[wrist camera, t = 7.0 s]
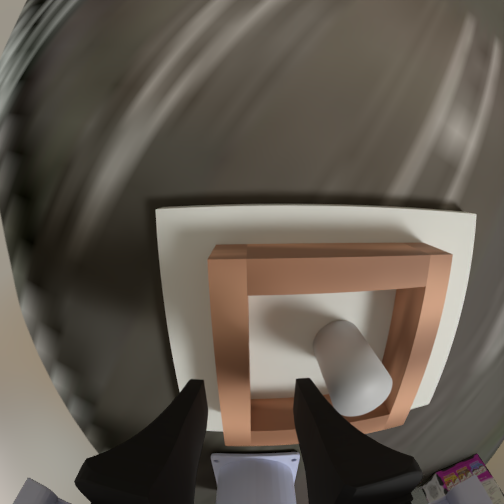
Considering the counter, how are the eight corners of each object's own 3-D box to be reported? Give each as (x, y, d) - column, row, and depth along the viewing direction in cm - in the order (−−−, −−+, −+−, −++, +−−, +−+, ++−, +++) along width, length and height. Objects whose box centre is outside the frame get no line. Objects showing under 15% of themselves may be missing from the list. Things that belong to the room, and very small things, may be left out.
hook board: (421, 393, 19) (454, 440, 13) (191, 416, 19) (177, 479, 13) (463, 211, 15) (529, 226, 9) (163, 206, 15) (111, 221, 9)
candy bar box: (419, 487, 25) (448, 555, 9) (434, 471, 24) (469, 543, 8) (463, 469, 25) (495, 524, 9) (478, 452, 24) (514, 509, 8)
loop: (388, 398, 17) (403, 424, 14) (228, 414, 17) (225, 445, 14) (423, 242, 14) (453, 254, 11) (216, 244, 14) (207, 259, 11)
